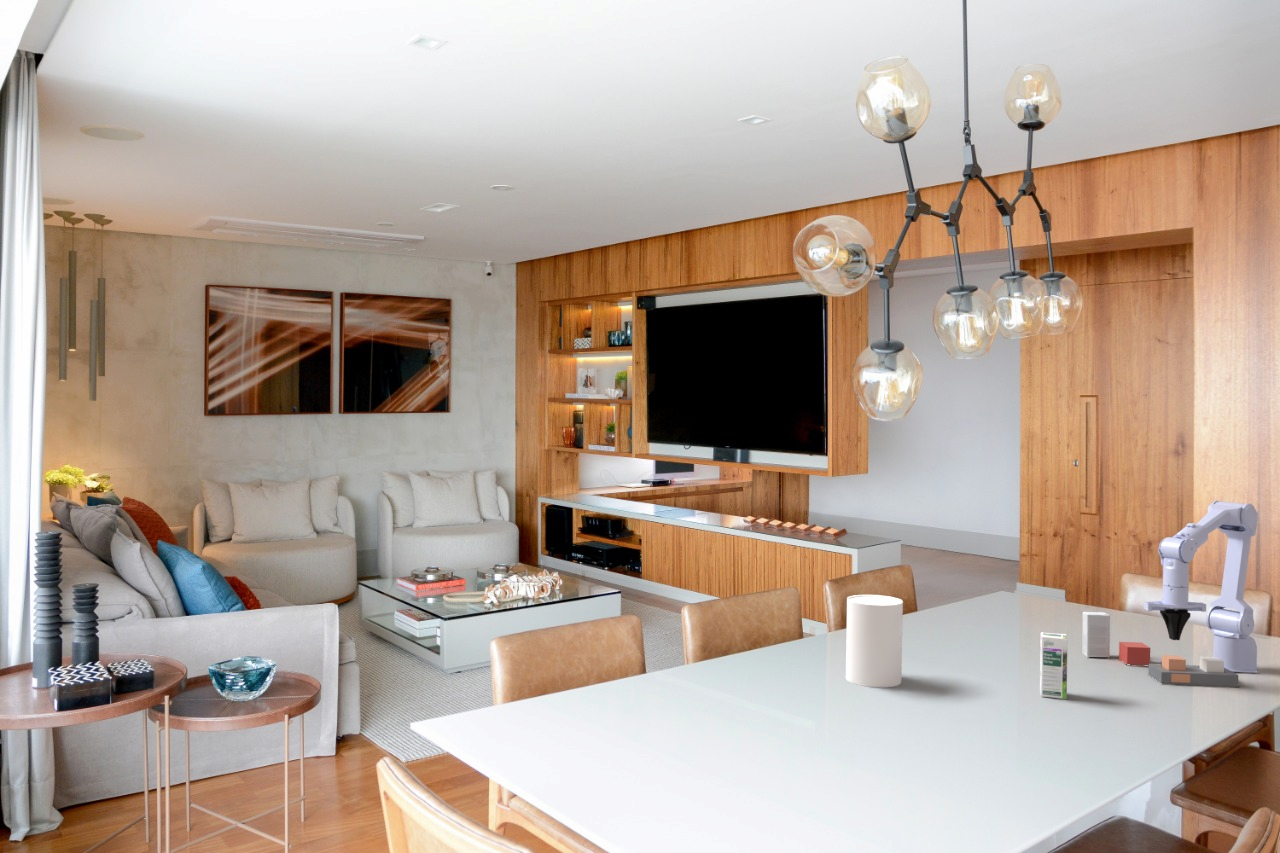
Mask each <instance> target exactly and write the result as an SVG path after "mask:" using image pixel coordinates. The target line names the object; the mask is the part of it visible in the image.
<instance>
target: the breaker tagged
mask: <svg viewBox="0 0 1280 853" xmlns="http://www.w3.org/2000/svg"><path fill="white" fill-rule="evenodd" d="M1161 657H1162V658H1161V660H1162V661H1161V664H1162V667H1163V668H1165V669H1166V670H1168V671H1186V665H1187V659H1185V658H1183V657H1182V656H1181V655H1166V654H1163V655H1161Z"/></svg>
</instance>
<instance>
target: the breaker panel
mask: <svg viewBox="0 0 1280 853" xmlns="http://www.w3.org/2000/svg"><path fill="white" fill-rule="evenodd" d="M1147 667H1148V671H1147V672H1148V674H1147V675H1148V676H1149V675H1150V676H1151V677H1150V676H1149V677H1150V678H1152V677H1153V678H1154V679H1153V678H1152V679H1153V680H1155V679H1156V680H1157V681H1156V680H1155V681H1156V682H1158V681H1159V682H1160V683H1162V684H1161V685H1173V684H1179V685H1178V686H1198V687H1199V686H1201V687H1225V688H1239V674H1237V672H1232V671H1230V670H1228V669H1226V668H1225V667H1224V673H1216V672H1205V671H1203V670H1202V669H1200V665H1196V664H1195V665H1193V664H1192V665H1189V664H1186V671H1168V670H1166V669H1165V668H1163V667H1162V663H1150V664H1149V666H1147ZM1159 682H1158V683H1159ZM1160 683H1159V684H1160Z"/></svg>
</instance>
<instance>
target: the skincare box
mask: <svg viewBox="0 0 1280 853" xmlns="http://www.w3.org/2000/svg"><path fill="white" fill-rule="evenodd" d="M1110 620H1111V615H1110V614H1109V613H1106V612H1105V611H1103V612H1102V611H1097V612H1096V611H1082V627H1081V628H1082V631H1081V632H1082V637H1081V638H1082V640H1081V644H1082V645H1081V647H1082V652H1081V653H1082V654H1081V655H1083V654H1084V655H1085V656H1084V655H1083V656H1084V657H1085V658H1087V657H1108V658H1107V659H1110V650H1111V649H1110V647H1111V646H1110V645H1111V644H1110V641H1111V639H1110V638H1111V631H1110V630H1111V626H1110V624H1111V621H1110Z"/></svg>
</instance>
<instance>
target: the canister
mask: <svg viewBox="0 0 1280 853" xmlns="http://www.w3.org/2000/svg"><path fill="white" fill-rule="evenodd" d="M903 605H904V601H903V600H902V599H901V598H897V597H893V596H889V595H883V594H881V595H880V594H857V595H856V594H855V595H850V596H847V597H846V633H845V634H846V635H845V636H846V639H845V643H846V645H845V647H846V648H845V650H846V652H845V656H846V657H845V679H846V681H848V682H850V683H851V684H854V685H857V686H858V685H859V686H863V687H869V688H892V687H897V686H899V685H901V684H902V675H903V674H902V671H903V670H902V669H903V668H902V667H903V666H902V664H903V663H902V662H903V661H902V660H903V659H902V658H903V617H904V616H903V608H904V606H903Z"/></svg>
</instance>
